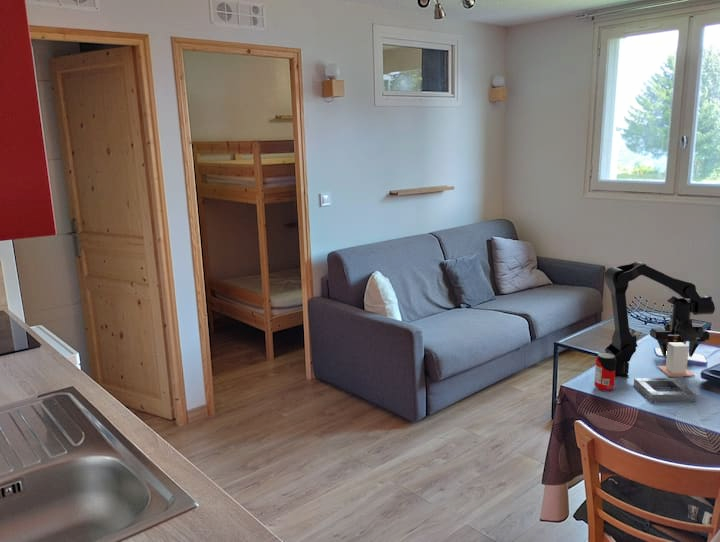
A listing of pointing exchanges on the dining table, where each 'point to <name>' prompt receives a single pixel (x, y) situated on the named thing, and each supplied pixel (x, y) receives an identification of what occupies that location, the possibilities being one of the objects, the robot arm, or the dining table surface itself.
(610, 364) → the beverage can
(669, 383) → the bore housing
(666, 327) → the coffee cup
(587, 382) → the dining table surface
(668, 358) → the end plug
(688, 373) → the terracotta tile
